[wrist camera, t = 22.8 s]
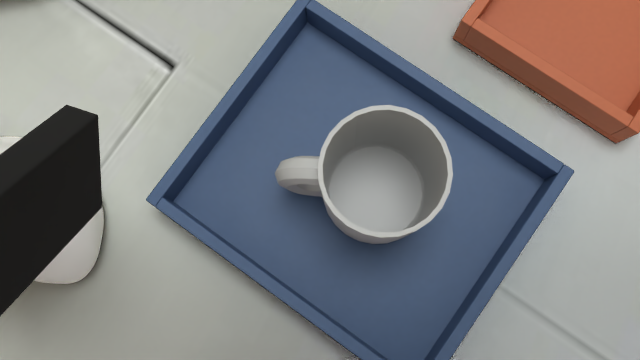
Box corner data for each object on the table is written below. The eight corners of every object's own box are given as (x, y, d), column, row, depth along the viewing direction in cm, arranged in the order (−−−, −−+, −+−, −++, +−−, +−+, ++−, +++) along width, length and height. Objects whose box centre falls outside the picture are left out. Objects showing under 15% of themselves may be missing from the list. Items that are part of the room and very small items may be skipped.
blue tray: (557, 178, 40) (575, 170, 37) (414, 392, 38) (420, 403, 35) (305, 11, 42) (302, -9, 39) (159, 205, 40) (145, 199, 37)
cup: (425, 249, 39) (449, 243, 30) (278, 237, 39) (260, 228, 30) (430, 144, 40) (456, 109, 31) (287, 134, 40) (272, 97, 31)
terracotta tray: (715, -7, 41) (745, -29, 38) (615, 143, 40) (638, 133, 37) (553, -103, 43) (569, -132, 40) (452, 38, 42) (461, 20, 38)
